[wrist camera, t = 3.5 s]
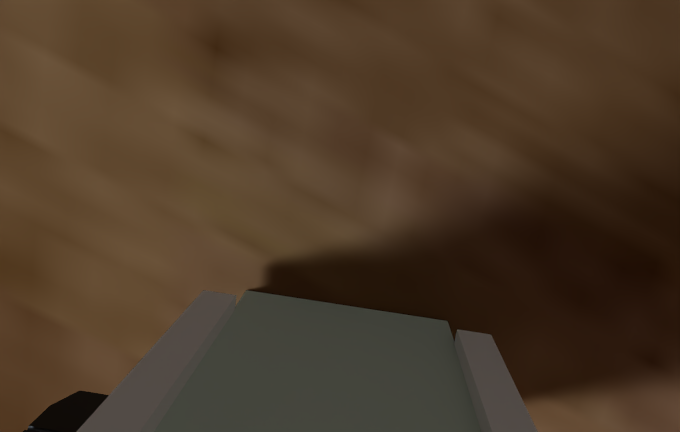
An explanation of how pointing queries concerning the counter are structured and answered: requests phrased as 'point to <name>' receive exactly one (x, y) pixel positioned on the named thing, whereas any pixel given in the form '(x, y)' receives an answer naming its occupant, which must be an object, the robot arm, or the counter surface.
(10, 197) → the counter surface
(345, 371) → the sage domino
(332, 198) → the counter surface
